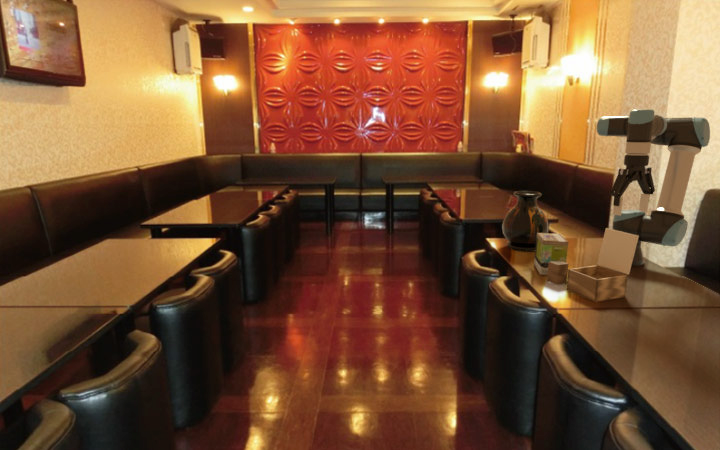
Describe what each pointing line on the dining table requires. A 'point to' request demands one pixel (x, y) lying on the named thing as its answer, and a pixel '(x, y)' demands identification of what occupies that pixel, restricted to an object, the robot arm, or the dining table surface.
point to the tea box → (549, 250)
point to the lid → (617, 250)
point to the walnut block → (557, 272)
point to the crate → (596, 283)
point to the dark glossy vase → (524, 222)
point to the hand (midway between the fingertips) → (630, 213)
